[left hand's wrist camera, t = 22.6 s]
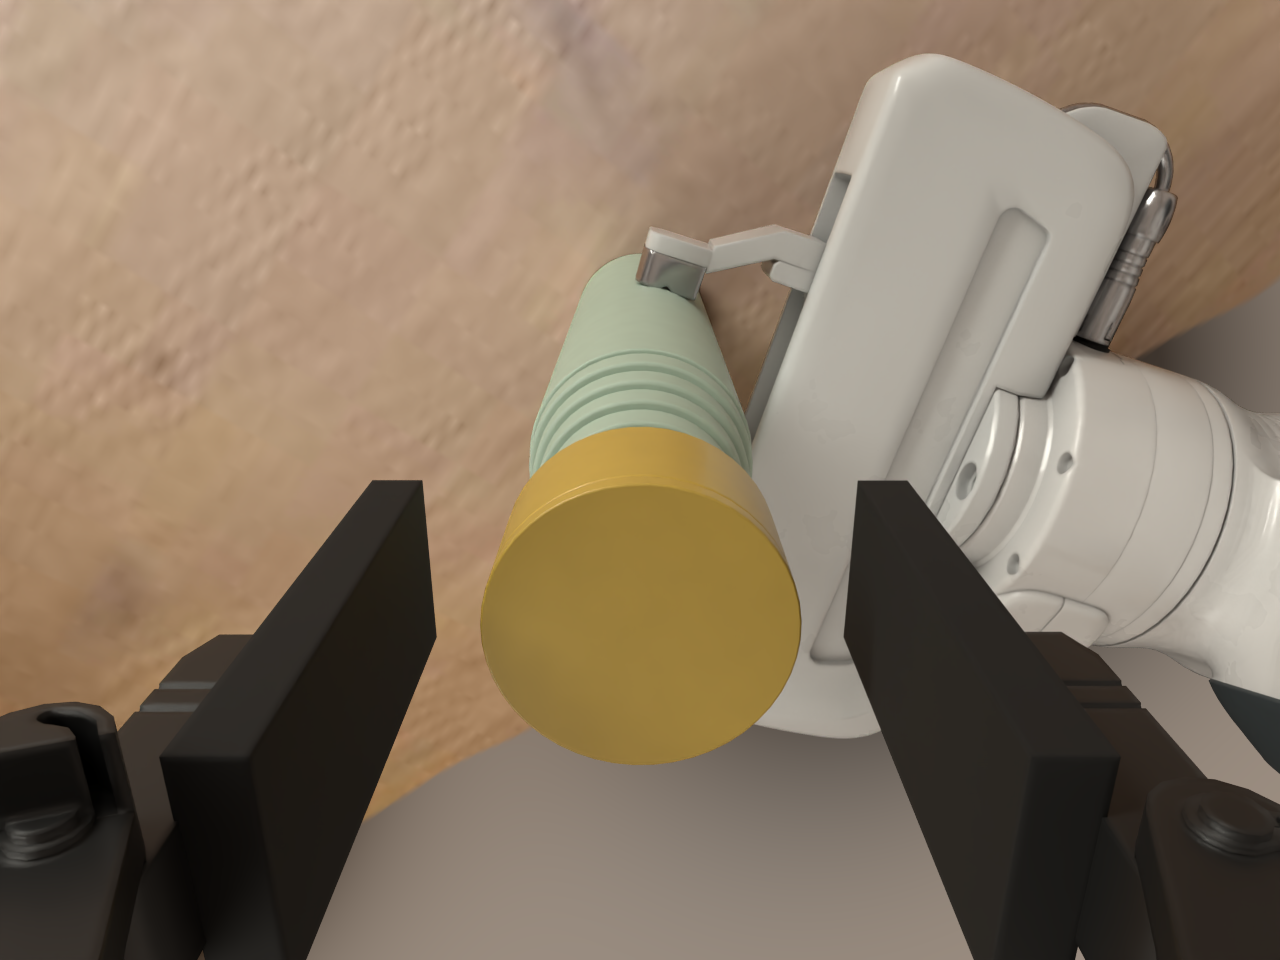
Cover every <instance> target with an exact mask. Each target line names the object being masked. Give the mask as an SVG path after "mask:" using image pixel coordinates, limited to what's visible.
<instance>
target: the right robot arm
mask: <svg viewBox="0 0 1280 960" xmlns="http://www.w3.org/2000/svg"><path fill="white" fill-rule="evenodd" d="M1156 170H1157V171H1156ZM1155 172H1156V180H1155V185H1154V188H1152V187H1148V186H1149V184H1150V182H1151V180H1152V178H1153V176H1154V174H1155ZM1172 178H1173V158H1172V153H1171V150H1170V147H1169V144H1168V142H1167V139H1166V137H1165V135H1164V134H1163V133H1162V132H1161V131H1160V130H1158V129H1157V128H1156V127H1155V126H1154V125H1153V124H1151V123H1150V122H1148V121H1146V120H1144V119H1142V118H1139V117H1136V116H1133V115H1131V114H1128V113H1125V112H1122V111H1119V110H1117V109H1114V108H1111V107H1108V106H1105V105H1103V104H1098V103H1077V104H1072V105H1069V106H1066V107H1063V108H1061V109H1058V108H1056V107H1055V106H1053V105H1051V104H1049V103H1047V102H1046V101H1044V100H1042V99H1040V98H1039V97H1037V96H1035V95H1033V94H1031V93H1029V92H1027V91H1026V90H1024V89H1022V88H1020V87H1018V86H1016V85H1014V84H1012V83H1010V82H1008V81H1006V80H1004V79H1002V78H999V77H997V76H995V75H993V74H991V73H989V72H986V71H984V70H982V69H979V68H977V67H975V66H972V65H970V64H968V63H965V62H963V61H960V60H957V59H955V58H952V57H949V56H946V55H942V54H933V53H927V54H919V55H914V56H911V57H908V58H906V59H903V60H901V61H899V62H897V63H895V64H892V65H891V66H889V67H887V68H885V69H883V70H882V71H880V72H878V73H876V74H874V75H873V76H872V77H871V78H870V79H869V80H868V82H867V83H866V85H865V87H864V89H863V92H862V95H861V97H860V100H859V103H858V105H857V108H856V111H855V114H854V116H853V119H852V122H851V125H850V127H849V130H848V133H847V135H846V138H845V141H844V144H843V146H842V149H841V152H840V155H839V157H838V160H837V163H836V165H835V168H834V171H833V174H832V176H831V179H830V182H829V185H828V187H827V190H826V193H825V195H824V198H823V201H822V204H821V206H820V209H819V212H818V215H817V217H816V220H815V223H814V226H813V228H812V231H811V234H810V235H807V234H804V233H801V232H798V231H794V230H791V229H788V228H785V227H782V226H779V225H776V224H772V225H768V226H764V227H760V228H755V229H751V230H747V231H743V232H738V233H734V234H730V235H726V236H722V237H717V238H713V239H710V240H709V242H708V243H705V242H702V241H699V240H696V239H693V238H690V237H687V236H684V235H681V234H677V233H674V232H671V231H668V230H665V229H661V228H656V227H652V226H650V228H649V231H648V235H647V238H646V242H645V244H644V248H643V251H642V255H641V258H640V262H639V266H638V269H637V273H636V278H635V280H636V281H638V282H640V283H642V284H645V285H647V286H650V287H656V288H662V287H665V286H667V287H668V288H669V289H670V291H671V292H672V293H674V294H677V295H678V296H682V297H685V298H688V299H691V300H695V299H696V296H697V294H698V291H699V288H700V285H701V282H702V279H703V277H704V274H705V272H706V274H707V273H712V272H717V271H721V270H726V269H731V268H735V267H740V266H745V265H749V264H754V263H759V262H762V264H761V268H762V270H763V272H764V273H765V274H766V275H767V276H768V277H769V278H770V279H771V280H772V281H773V282H776V283H779V284H782V285H785V286H788V287H791V288H790V291H789V294H788V296H787V299H786V302H785V305H784V307H783V310H782V313H781V316H780V318H779V321H778V324H777V326H776V329H775V332H774V335H773V337H772V340H771V343H770V346H769V348H768V351H767V354H766V357H765V359H764V362H763V365H762V367H761V370H760V373H759V376H758V378H757V381H756V384H755V387H754V389H753V392H752V395H751V397H750V400H749V403H748V406H747V408H746V411H745V414H744V415H745V418H746V420H747V423H748V427H749V431H750V435H751V445H752V460H753V468H752V480H753V481H754V482H755V483H756V485H757V486H758V488H759V490H760V491H761V493H762V495H763V496H764V498H765V500H766V503H767V505H768V507H769V510H770V512H771V515H772V518H773V520H774V523H775V526H776V529H777V532H778V535H779V538H780V541H781V544H782V547H783V550H784V552H785V555H786V558H787V561H788V564H789V567H790V570H791V573H792V576H793V579H794V581H795V585H796V589H797V592H798V596H799V600H800V608H801V618H802V626H801V641H800V646H799V651H798V655H797V659H796V662H795V665H794V667H793V670H792V673H791V675H790V677H789V679H788V681H787V683H786V685H785V687H784V689H783V690H782V692H781V694H780V695H779V696H778V698H777V699H776V701H775V702H774V703H773V705H772V706H771V707H770V708H769V709H768V711H767V712H766V713H765V714H764V715H763V716H762V717H761V718H760V719H759V720H758V721H757V722H756V723H755V724H754V725H759V726H763V727H768V728H773V729H778V730H783V731H788V732H793V733H800V734H806V735H812V736H820V737H827V738H858V737H864V736H868V735H872V734H875V733H877V732H880V731H881V729H880V726H879V724H878V721H877V719H876V716H875V714H874V712H873V709H872V707H871V704H870V702H869V699H868V697H867V694H866V692H865V689H864V687H863V684H862V682H861V679H860V677H859V674H858V672H857V670H856V667H855V665H854V662H853V660H852V657H851V655H850V652H849V650H848V647H847V645H846V642H845V640H844V637H843V636H844V625H845V614H846V603H847V592H848V581H849V570H850V559H851V548H852V537H853V526H854V515H855V504H856V493H857V482H858V480H908V482H909V483H910V484H911V486H912V487H913V488H914V489H915V491H916V492H917V493H918V495H919V496H920V497H921V499H922V500H923V501H924V502H925V504H926V505H927V506H928V508H929V509H930V510H931V511H932V513H933V514H934V515H935V517H936V518H937V519H938V521H939V522H940V523H941V524H942V526H943V527H944V528H945V530H946V531H947V532H948V533H949V535H950V536H951V537H952V539H953V540H954V541H955V543H956V544H957V545H958V546H959V548H960V549H961V550H962V552H963V553H964V554H965V555H966V557H967V558H968V559H969V561H970V562H971V563H972V565H973V566H974V567H975V568H976V570H977V571H978V572H979V574H980V575H981V576H982V577H983V579H984V580H985V581H986V583H987V584H988V585H989V587H990V588H991V589H992V590H993V592H994V593H995V594H996V596H997V597H998V598H999V599H1000V601H1001V602H1002V603H1003V605H1004V606H1005V607H1006V609H1007V610H1008V611H1009V612H1010V614H1011V615H1012V616H1013V618H1014V619H1015V620H1016V621H1017V623H1018V624H1019V625H1020V627H1021V628H1022V629H1023V631H1024V632H1063V633H1064V634H1066V635H1067V636H1069V637H1071V638H1072V639H1074V640H1076V641H1077V642H1079V643H1080V644H1082V645H1084V646H1085V647H1087V648H1088V647H1090V646H1091V645H1095V646H1100V647H1113V648H1148V649H1152V650H1157V651H1159V652H1161V653H1163V654H1166V655H1167V656H1169V657H1171V658H1172V659H1173V660H1175V661H1176V662H1178V663H1179V664H1181V665H1182V666H1184V667H1185V668H1187V669H1189V670H1191V671H1193V672H1195V673H1197V674H1199V675H1202V676H1204V677H1207V678H1210V680H1209V682H1210V684H1211V687H1212V689H1213V691H1214V693H1215V694H1216V696H1217V698H1218V700H1219V701H1220V703H1221V704H1222V706H1223V707H1224V709H1225V710H1226V712H1227V713H1228V714H1229V716H1230V717H1231V718H1232V720H1233V721H1234V722H1235V723H1236V725H1237V726H1238V727H1239V728H1240V730H1241V731H1242V732H1243V733H1244V735H1245V736H1246V737H1247V739H1248V740H1249V741H1250V742H1251V744H1252V745H1253V746H1254V747H1255V748H1256V750H1257V751H1258V752H1259V753H1260V755H1261V756H1262V757H1263V759H1264V760H1265V761H1266V762H1267V763H1268V764H1269V765H1270V766H1271V767H1272V768H1273V769H1275V770H1276V771H1277V772H1278V773H1279V774H1280V413H1257V412H1253V411H1250V410H1247V409H1245V408H1242V407H1240V406H1239V405H1237V404H1236V403H1235V402H1233V401H1232V400H1231V399H1230V398H1228V397H1227V396H1226V395H1224V394H1223V393H1221V392H1220V391H1219V390H1217V389H1215V388H1213V387H1212V386H1210V385H1208V384H1206V383H1204V382H1202V381H1199V380H1196V379H1194V378H1191V377H1188V376H1185V375H1181V374H1178V373H1175V372H1172V371H1169V370H1166V369H1163V368H1160V367H1157V366H1154V365H1151V364H1148V363H1144V362H1142V361H1139V360H1135V359H1132V358H1129V357H1126V356H1123V355H1120V354H1117V353H1115V352H1112V351H1110V349H1108V347H1109V345H1110V343H1111V341H1112V339H1113V337H1114V335H1115V333H1116V331H1117V329H1118V326H1119V324H1120V322H1121V320H1122V318H1123V316H1124V314H1125V312H1126V310H1127V308H1128V306H1129V304H1130V302H1131V300H1132V298H1133V295H1134V293H1135V291H1136V288H1135V287H1136V286H1137V285H1138V282H1139V277H1140V276H1141V274H1142V271H1143V269H1142V268H1143V267H1144V266H1145V264H1146V262H1147V259H1146V258H1149V256H1150V254H1151V252H1152V250H1153V248H1154V246H1155V244H1156V243H1159V242H1160V241H1161V239H1162V237H1163V236H1164V234H1165V232H1166V230H1167V228H1168V227H1169V224H1170V222H1171V220H1172V217H1173V214H1174V211H1175V208H1176V204H1177V199H1178V197H1177V196H1176V195H1175V194H1173V193H1170V192H1169V190H1170V187H1171V184H1172Z"/></svg>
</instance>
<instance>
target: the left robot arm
mask: <svg viewBox="0 0 1280 960" xmlns="http://www.w3.org/2000/svg"><path fill="white" fill-rule="evenodd" d="M436 637H437V636H436V625H435V614H434V603H433V592H432V581H431V570H430V559H429V548H428V537H427V526H426V515H425V504H424V493H423V482H422V480H372V482H371V483H370V484H369V486H368V487H367V488H366V489H365V491H364V492H363V493H362V495H361V496H360V497H359V499H358V500H357V501H356V502H355V504H354V505H353V506H352V508H351V509H350V510H349V511H348V513H347V514H346V515H345V517H344V518H343V519H342V521H341V522H340V523H339V524H338V526H337V527H336V528H335V530H334V531H333V532H332V533H331V535H330V536H329V537H328V539H327V540H326V541H325V543H324V544H323V545H322V546H321V548H320V549H319V550H318V552H317V553H316V554H315V555H314V557H313V558H312V559H311V561H310V562H309V563H308V565H307V566H306V567H305V568H304V570H303V571H302V572H301V574H300V575H299V576H298V577H297V579H296V580H295V581H294V583H293V584H292V585H291V587H290V588H289V589H288V590H287V592H286V593H285V594H284V596H283V597H282V598H281V599H280V601H279V602H278V603H277V605H276V606H275V607H274V609H273V610H272V611H271V612H270V614H269V615H268V616H267V618H266V619H265V620H264V621H263V623H262V624H261V625H260V627H259V628H258V629H257V631H256V632H255V633H254V634H253V635H218V636H216V637H215V638H213V639H211V640H210V641H208V642H207V643H205V644H203V645H202V646H200V647H199V648H197V649H195V650H194V651H192V652H190V653H189V654H187V655H186V656H184V657H182V659H181V660H180V661H179V662H178V663H177V664H176V665H175V667H174V668H173V669H172V670H171V671H170V672H169V673H168V675H167V676H166V677H165V678H164V679H163V680H162V681H161V683H160V684H159V689H154V691H153V692H152V693H151V694H150V695H149V696H148V697H147V699H146V700H145V701H144V702H143V703H142V704H141V705H140V711H139V712H134V713H133V715H132V716H131V717H130V718H129V719H128V720H127V721H126V723H125V724H124V725H123V726H122V727H121V728H120V729H119V731H118V732H117V729H116V725H115V721H114V717H113V716H112V715H111V714H110V713H108V712H107V711H106V710H104V709H103V708H102V707H100V706H97V705H91V704H86V703H80V702H65V703H52V704H43V705H39V706H35V707H31V708H27V709H23V710H19V711H15V712H11V713H8V714H6V715H3V716H1V717H0V960H197V959H198V957H199V955H200V954H201V952H202V950H203V953H204V957H205V960H306V959H307V956H308V954H309V951H310V949H311V946H312V944H313V941H314V939H315V937H316V934H317V932H318V929H319V927H320V924H321V922H322V919H323V917H324V914H325V912H326V909H327V907H328V904H329V902H330V899H331V897H332V894H333V892H334V889H335V887H336V885H337V882H338V880H339V877H340V875H341V872H342V870H343V867H344V865H345V862H346V860H347V857H348V855H349V852H350V850H351V848H352V845H353V843H354V840H355V837H356V835H357V833H358V830H359V828H360V825H361V823H362V820H363V818H364V815H365V813H366V810H367V808H368V805H369V803H370V801H371V798H372V796H373V793H374V791H375V788H376V786H377V783H378V781H379V778H380V776H381V773H382V771H383V768H384V766H385V763H386V761H387V759H388V756H389V754H390V751H391V749H392V746H393V744H394V741H395V739H396V736H397V734H398V731H399V729H400V726H401V724H402V721H403V719H404V716H405V714H406V712H407V709H408V707H409V704H410V702H411V699H412V697H413V694H414V692H415V689H416V687H417V684H418V682H419V679H420V677H421V674H422V672H423V670H424V667H425V665H426V662H427V660H428V657H429V655H430V652H431V650H432V647H433V645H434V642H435V640H436ZM843 637H844V640H845V642H846V645H847V647H848V650H849V652H850V655H851V657H852V660H853V662H854V665H855V667H856V670H857V672H858V674H859V677H860V679H861V682H862V684H863V687H864V689H865V692H866V694H867V697H868V699H869V702H870V704H871V707H872V709H873V712H874V714H875V716H876V719H877V721H878V724H879V726H880V729H881V731H882V734H883V736H884V739H885V741H886V744H887V746H888V749H889V751H890V754H891V756H892V759H893V761H894V763H895V766H896V768H897V771H898V773H899V776H900V778H901V781H902V783H903V786H904V788H905V791H906V793H907V796H908V798H909V801H910V803H911V805H912V808H913V810H914V813H915V815H916V818H917V820H918V823H919V825H920V828H921V830H922V833H923V835H924V837H925V840H926V843H927V845H928V848H929V850H930V852H931V855H932V857H933V860H934V862H935V865H936V867H937V870H938V872H939V875H940V877H941V880H942V882H943V885H944V887H945V890H946V892H947V895H948V897H949V899H950V902H951V904H952V907H953V909H954V912H955V914H956V917H957V919H958V922H959V924H960V927H961V929H962V932H963V934H964V936H965V939H966V941H967V944H968V946H969V949H970V951H971V954H972V956H973V959H974V960H1075V957H1076V953H1077V948H1078V947H1079V949H1080V951H1081V953H1082V954H1083V956H1084V958H1085V960H1280V804H1278V803H1276V802H1273V801H1271V800H1269V799H1267V798H1265V797H1263V796H1261V795H1259V794H1257V793H1255V792H1253V791H1251V790H1249V789H1246V788H1242V787H1239V786H1236V785H1232V784H1229V783H1225V782H1222V781H1218V780H1215V779H1207V777H1206V776H1205V775H1204V774H1203V773H1202V772H1201V771H1200V770H1199V768H1198V767H1197V766H1196V765H1195V764H1194V763H1193V762H1192V760H1191V759H1190V758H1189V757H1188V756H1187V755H1186V754H1185V752H1184V751H1183V750H1182V749H1181V748H1180V747H1179V746H1178V745H1177V743H1176V742H1175V741H1174V740H1173V739H1172V738H1171V737H1170V735H1169V734H1168V733H1167V732H1166V731H1165V730H1164V729H1163V727H1162V726H1161V725H1160V724H1159V723H1158V722H1157V721H1156V720H1155V718H1154V717H1153V716H1152V715H1151V714H1150V713H1149V712H1148V710H1147V709H1145V708H1141V702H1140V701H1139V700H1138V699H1137V698H1136V697H1135V696H1134V695H1133V693H1132V692H1131V691H1130V690H1129V689H1128V688H1127V687H1126V686H1122V684H1121V680H1120V679H1119V677H1118V676H1117V675H1116V674H1115V673H1114V672H1113V671H1112V670H1111V668H1110V667H1109V666H1108V665H1107V664H1106V663H1105V662H1104V660H1103V659H1102V658H1101V657H1100V656H1099V655H1098V654H1097V653H1095V652H1093V651H1092V650H1090V649H1089V648H1087V647H1085V646H1084V645H1082V644H1080V643H1079V642H1077V641H1076V640H1074V639H1072V638H1071V637H1069V636H1067V635H1066V634H1064V633H1063V632H1024V631H1023V629H1022V628H1021V627H1020V625H1019V624H1018V623H1017V621H1016V620H1015V619H1014V618H1013V616H1012V615H1011V614H1010V612H1009V611H1008V610H1007V609H1006V607H1005V606H1004V605H1003V603H1002V602H1001V601H1000V599H999V598H998V597H997V596H996V594H995V593H994V592H993V590H992V589H991V588H990V587H989V585H988V584H987V583H986V581H985V580H984V579H983V577H982V576H981V575H980V574H979V572H978V571H977V570H976V568H975V567H974V566H973V565H972V563H971V562H970V561H969V559H968V558H967V557H966V555H965V554H964V553H963V552H962V550H961V549H960V548H959V546H958V545H957V544H956V543H955V541H954V540H953V539H952V537H951V536H950V535H949V533H948V532H947V531H946V530H945V528H944V527H943V526H942V524H941V523H940V522H939V521H938V519H937V518H936V517H935V515H934V514H933V513H932V511H931V510H930V509H929V508H928V506H927V505H926V504H925V502H924V501H923V500H922V499H921V497H920V496H919V495H918V493H917V492H916V491H915V489H914V488H913V487H912V486H911V484H910V483H909V482H908V480H858V482H857V493H856V504H855V515H854V526H853V537H852V548H851V559H850V570H849V581H848V592H847V603H846V614H845V625H844V636H843Z"/></svg>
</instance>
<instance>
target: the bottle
mask: <svg viewBox="0 0 1280 960" xmlns="http://www.w3.org/2000/svg"><path fill="white" fill-rule="evenodd" d="M641 255H642V254H631V255H626V256H622V257H619V258H617V259H614V260H612V261H610V262H609V263H607V264H605V265H604V266H603V267H602V268H600V269H599V270H598V271H597V272H596V273H595V274H594V275H593V276H592V277H591V279H590V280H589V282H588V283H587V285H586V287H585V289H584V290H583V293H582V296H581V298H580V301H579V304H578V307H577V309H576V312H575V315H574V317H573V320H572V323H571V326H570V328H569V331H568V334H567V336H566V339H565V342H564V345H563V347H562V350H561V353H560V355H559V358H558V361H557V364H556V366H555V369H554V372H553V374H552V377H551V380H550V383H549V385H548V388H547V391H546V393H545V396H544V399H543V401H542V404H541V407H540V410H539V412H538V415H537V418H536V420H535V423H534V427H533V431H532V436H531V444H530V461H529V470H530V478H531V477H532V476H533V474H534V473H535V472H536V471H537V470H538V469H539V468H540V467H541V466H542V465H543V464H544V463H545V462H546V461H547V460H549V459H550V458H551V457H553V456H554V455H555V454H557V453H558V452H559V451H561V450H562V449H564V448H566V447H568V446H569V445H571V444H573V443H574V442H576V441H579V440H581V439H584V438H586V437H588V436H591V435H593V434H597V433H601V432H604V431H608V430H612V429H619V428H627V427H654V428H663V429H669V430H674V431H678V432H682V433H686V434H688V435H691V436H694V437H696V438H699V439H701V440H703V441H705V442H707V443H709V444H711V445H713V446H715V447H717V448H718V449H720V450H721V451H723V452H724V453H725V454H727V455H728V456H729V457H731V458H732V459H733V460H734V461H736V462H737V463H738V464H739V465H740V466H741V467H742V468H743V469H744V470H745V471H746V472H747V473H748V475H749V476H750V477H751V478H752V468H753V460H752V445H751V435H750V431H749V427H748V423H747V420H746V418H745V415H744V412H743V409H742V407H741V404H740V401H739V399H738V396H737V393H736V391H735V388H734V385H733V382H732V380H731V377H730V374H729V372H728V369H727V366H726V364H725V361H724V358H723V355H722V353H721V350H720V347H719V345H718V342H717V339H716V337H715V334H714V331H713V328H712V326H711V323H710V320H709V318H708V315H707V312H706V310H705V307H704V304H703V302H702V299H701V296H700V294H699V291H698V294H697V296H696V299H695V300H691V299H688V298H685V297H682V296H678V295H677V294H674V293H672V292H671V291H670V289H669V288H668V287H667V286H665V287H662V288H656V287H650V286H647V285H645V284H642V283H640V282H638V281H636V280H635V278H636V273H637V269H638V266H639V262H640V258H641Z"/></svg>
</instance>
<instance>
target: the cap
mask: <svg viewBox="0 0 1280 960" xmlns="http://www.w3.org/2000/svg"><path fill="white" fill-rule="evenodd" d="M801 626H802V618H801V608H800V600H799V596H798V592H797V589H796V585H795V581H794V579H793V576H792V573H791V570H790V567H789V564H788V561H787V558H786V555H785V552H784V550H783V547H782V544H781V541H780V538H779V535H778V532H777V529H776V526H775V523H774V520H773V518H772V515H771V512H770V510H769V507H768V505H767V503H766V500H765V498H764V496H763V495H762V493H761V491H760V490H759V488H758V486H757V485H756V483H755V482H754V481H753V480H752V478H751V477H750V476H749V475H748V473H747V472H746V471H745V470H744V469H743V468H742V467H741V466H740V465H739V464H738V463H737V462H736V461H734V460H733V459H732V458H731V457H729V456H728V455H727V454H725V453H724V452H723V451H721V450H720V449H718V448H717V447H715V446H713V445H711V444H709V443H707V442H705V441H703V440H701V439H699V438H696V437H694V436H691V435H688V434H686V433H682V432H678V431H674V430H669V429H663V428H654V427H627V428H619V429H612V430H608V431H604V432H601V433H597V434H593V435H591V436H588V437H586V438H584V439H581V440H579V441H576V442H574V443H573V444H571V445H569V446H568V447H566V448H564V449H562V450H561V451H559V452H558V453H557V454H555V455H554V456H553V457H551V458H550V459H549V460H547V461H546V462H545V463H544V464H543V465H542V466H541V467H540V468H539V469H538V470H537V471H536V472H535V473H534V474H533V476H532V477H531V478H530V480H529V481H528V482H527V484H526V485H525V486H524V488H523V489H522V491H521V493H520V495H519V497H518V499H517V500H516V502H515V505H514V507H513V510H512V513H511V515H510V518H509V521H508V524H507V527H506V530H505V533H504V536H503V538H502V541H501V544H500V547H499V550H498V553H497V556H496V559H495V562H494V565H493V568H492V571H491V573H490V576H489V579H488V582H487V585H486V588H485V592H484V597H483V602H482V607H481V622H480V627H481V638H482V646H483V650H484V654H485V658H486V662H487V665H488V667H489V670H490V672H491V675H492V677H493V679H494V681H495V683H496V685H497V686H498V688H499V690H500V692H501V693H502V695H503V696H504V698H505V699H506V700H507V702H508V703H509V704H510V706H511V707H512V708H513V710H514V711H515V712H516V713H517V714H518V715H519V716H520V717H521V718H522V719H523V720H524V721H525V722H526V723H527V724H529V725H530V726H531V727H532V728H534V729H535V730H536V731H538V732H539V733H540V734H541V735H543V736H544V737H546V738H548V739H549V740H551V741H553V742H554V743H556V744H558V745H560V746H562V747H564V748H566V749H568V750H571V751H573V752H575V753H578V754H581V755H584V756H587V757H590V758H593V759H597V760H602V761H606V762H611V763H618V764H629V765H655V764H663V763H671V762H676V761H680V760H685V759H689V758H693V757H696V756H698V755H701V754H704V753H707V752H710V751H712V750H714V749H716V748H718V747H720V746H722V745H724V744H726V743H728V742H730V741H731V740H733V739H734V738H736V737H737V736H739V735H741V734H742V733H744V732H745V731H746V730H747V729H748V728H750V727H751V726H752V725H753V724H755V723H756V722H757V721H758V720H759V719H760V718H761V717H762V716H763V715H764V714H765V713H766V712H767V711H768V709H769V708H770V707H771V706H772V705H773V703H774V702H775V701H776V699H777V698H778V696H779V695H780V694H781V692H782V690H783V689H784V687H785V685H786V683H787V681H788V679H789V677H790V675H791V673H792V670H793V667H794V665H795V662H796V659H797V655H798V651H799V646H800V641H801Z"/></svg>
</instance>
